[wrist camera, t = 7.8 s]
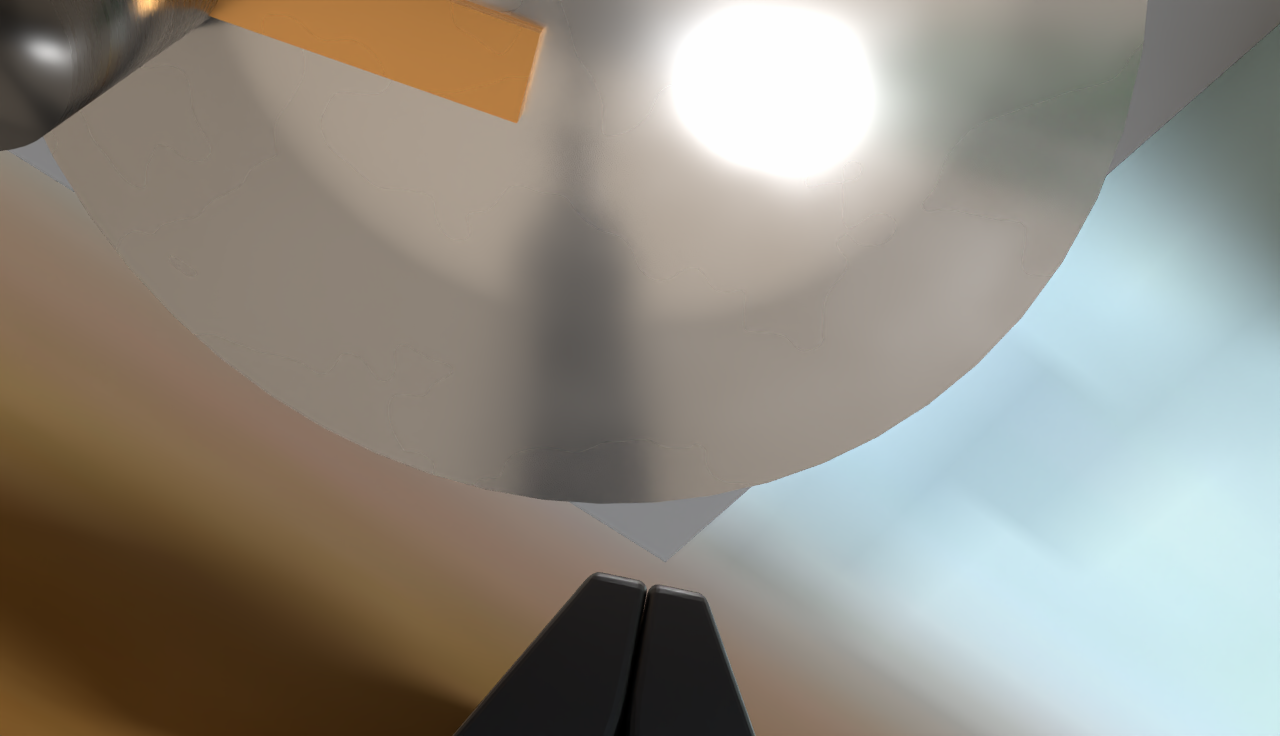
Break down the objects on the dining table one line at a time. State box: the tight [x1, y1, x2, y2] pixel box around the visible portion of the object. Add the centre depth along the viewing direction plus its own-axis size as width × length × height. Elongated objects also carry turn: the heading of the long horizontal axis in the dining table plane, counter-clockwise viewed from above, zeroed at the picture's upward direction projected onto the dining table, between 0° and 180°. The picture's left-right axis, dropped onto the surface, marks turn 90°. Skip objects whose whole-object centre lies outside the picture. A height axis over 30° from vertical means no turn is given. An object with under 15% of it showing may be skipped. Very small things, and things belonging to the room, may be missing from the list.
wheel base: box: [8, 0, 1280, 562], centre depth 16 cm, size 16×15×3 cm
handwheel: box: [0, 0, 1148, 504], centre depth 13 cm, size 14×14×5 cm
